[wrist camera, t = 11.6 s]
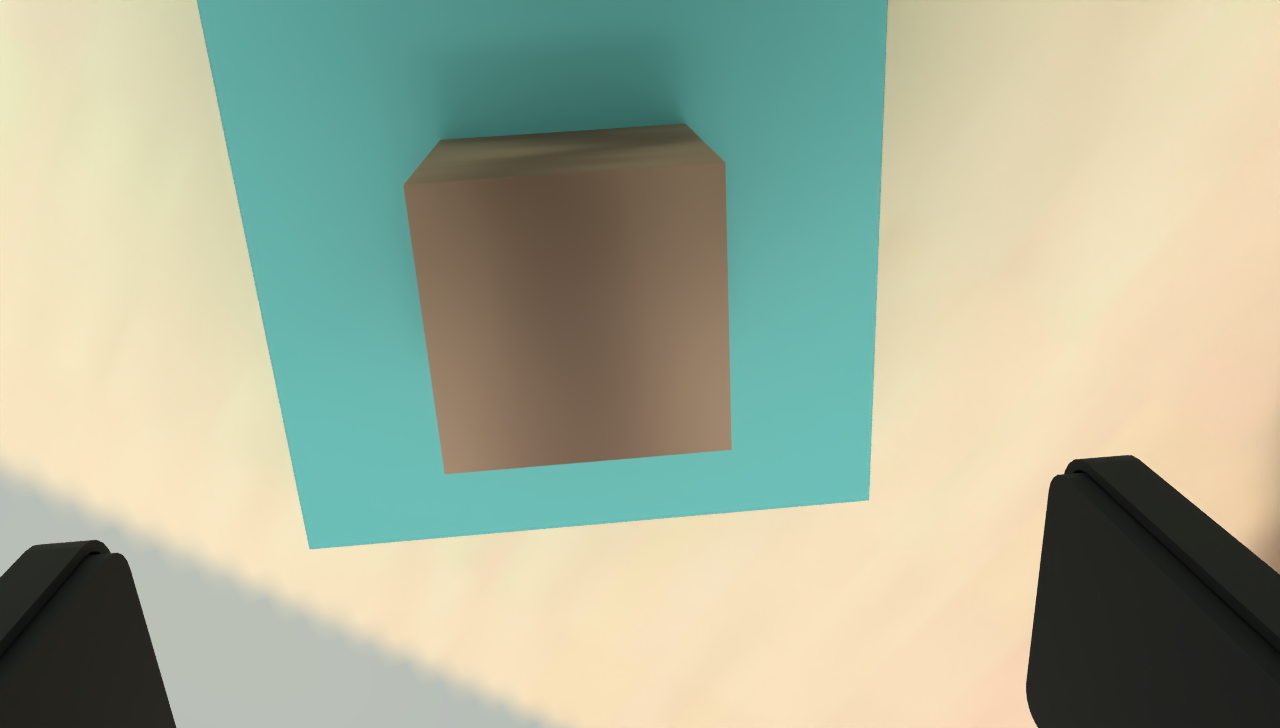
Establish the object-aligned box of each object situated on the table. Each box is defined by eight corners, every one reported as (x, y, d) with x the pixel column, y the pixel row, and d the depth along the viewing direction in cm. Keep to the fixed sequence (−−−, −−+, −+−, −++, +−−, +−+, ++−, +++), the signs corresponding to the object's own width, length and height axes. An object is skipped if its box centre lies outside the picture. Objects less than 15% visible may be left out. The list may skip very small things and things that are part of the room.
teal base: (843, -97, 26) (891, -112, 22) (832, 440, 32) (868, 500, 28) (237, -65, 25) (181, -76, 21) (339, 482, 31) (309, 549, 27)
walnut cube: (685, 123, 24) (725, 162, 18) (693, 351, 26) (731, 450, 20) (440, 140, 23) (403, 184, 18) (469, 369, 25) (444, 474, 20)
